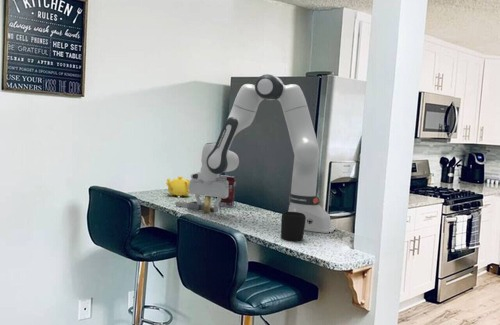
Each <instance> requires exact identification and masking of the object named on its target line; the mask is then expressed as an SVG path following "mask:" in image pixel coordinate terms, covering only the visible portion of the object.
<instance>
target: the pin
mask: <svg viewBox="0 0 500 325" xmlns="http://www.w3.org/2000/svg"><path fill="white" fill-rule="evenodd" d="M203 203H204V211H203V214H211V212H210V207H211V205H212V197H210V196H204V202H203Z"/></svg>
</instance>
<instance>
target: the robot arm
mask: <svg viewBox="0 0 500 325" xmlns="http://www.w3.org/2000/svg"><path fill="white" fill-rule="evenodd" d="M262 101H278V102H279V103H280V105H281V106H280V107H281V108H282V112H283V116H284V120H285V124H286V127H287V130H288V135H289V140H290V143H291V146H292V151H293V154H294V157H293V158H294V159H293V167H292V175H291V177H292V178H291V189H290V193H289V197H288V211H287V212H299V213H303V214H304V215H305V217H306V220H305V228H304V231H306V232H313V233H314V232H315V233H322V234H329V232H330V233H333V232H335V231H336V227H335V226H334V225H332V224H331V223H332V222H331V216H330V214H329V213H328V212H327V211H326V209H324V208H323V207H322V206H321V205H320V201H321V197H318V196H317V185H318V173H319V172H318V171H319V160H320V158H319V157H320V153H321V152H320V151H321V150H320V147H319V146H320V145H319V143H318V139H317V136H316V132H315V129H314V125H313V121H312V118H311V113H310V110H309V107H308V103H307V100H306V96H305V95H304V92H303V90H302V88H301V87H300V85H298V84H295V83H290V84H285V82H284V80H282V79H281V78H280V77H278V76H277V75H273V74H267V73H266V74H263V75H261V76H259V77H258V78H257V79H256V81H255V83H254V84H251V83H245V84H243V85H242V86H241V87H240V88H239V90H238V92H237V95H236V96H235V99H234V102H233V105H232V108H231V110H230V112H229V115H228V117H227V119H226V121H225V122H224V124H223V126H222V129H221V131H220V132H219V134H218V135H219V136H218V138H217V141H216V142H208V143H207V142H206V143H205V144H204V145H203V147H202V151H201V159H200V161H201V168H200V171H199V172H196V173H191V174H190V180H189V182H190V183H189V194H191V195H194V197H195V200H196V202H197V204H201V202H202V200H201V198H200V196H204V197H205V196H210V197H211V198H215V199H216V202H214V203H213V206H214V207H217V208H219V206H218V205H219V202H220V201H221V198H223V199H224V198H227V197H228V195H229V190H228V186H229V182H228V180H226V179H225V178H224V179H223V178H219V176H220V175H221V174H222V173H228V172H229V173H230V172H233V171H235V170H237V168H239V165H240V159H239V155H238V154H237V153H236V152H234V151H232V150H229V149H230V148H231V146H232V144H233V140H234V139H235V136H237V135H238V133H240V132H241V131H243V130H244V129H246V128H248V127H250V126H251V124H252V123H253V121H254V120H255V117H256V114H257V111H258V109H259V105H260V103H262ZM222 180H223V181H222ZM216 197H217V198H216ZM334 230H335V231H334Z"/></svg>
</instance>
